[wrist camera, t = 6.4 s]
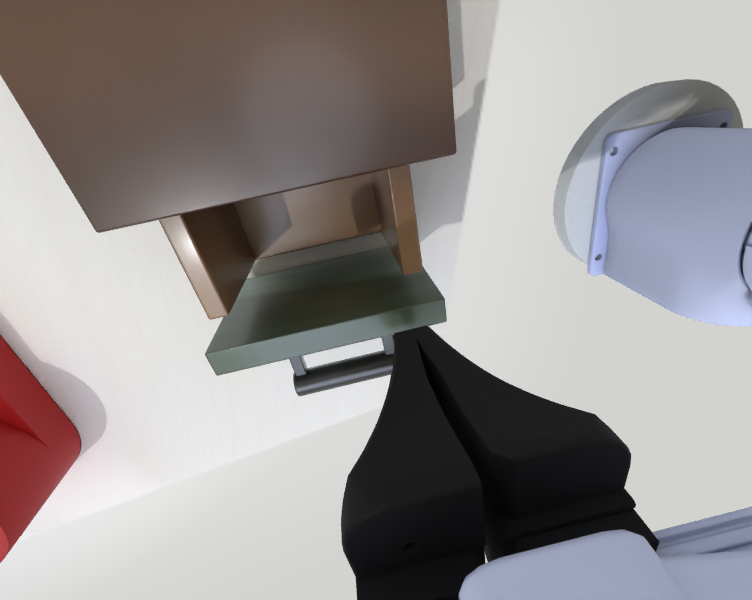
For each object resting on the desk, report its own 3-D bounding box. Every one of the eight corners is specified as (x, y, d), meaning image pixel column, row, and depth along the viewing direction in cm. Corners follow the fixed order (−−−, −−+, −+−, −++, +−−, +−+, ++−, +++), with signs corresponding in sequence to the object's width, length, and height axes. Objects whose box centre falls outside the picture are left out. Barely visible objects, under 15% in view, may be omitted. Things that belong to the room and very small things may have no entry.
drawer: (418, 323, 23) (455, 400, 17) (274, 356, 23) (256, 449, 16) (370, -1, 15) (405, -92, 8) (143, 46, 15) (2, -12, 8)
